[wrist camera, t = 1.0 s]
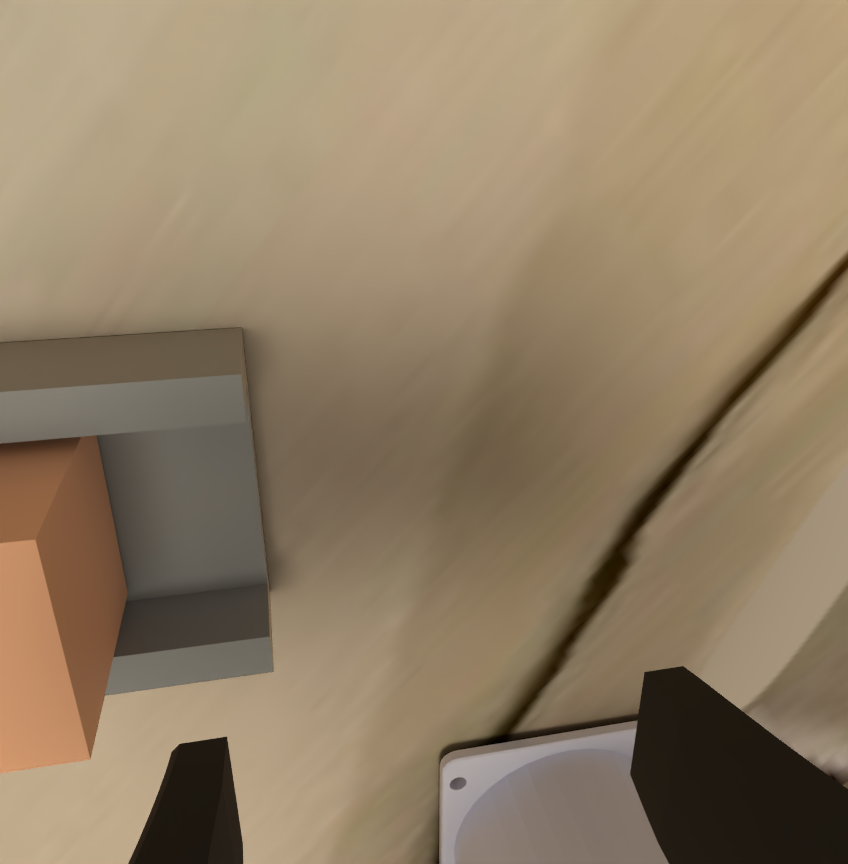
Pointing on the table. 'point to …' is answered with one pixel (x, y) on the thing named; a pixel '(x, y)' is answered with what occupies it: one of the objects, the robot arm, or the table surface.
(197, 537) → the trough
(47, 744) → the block
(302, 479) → the table surface
